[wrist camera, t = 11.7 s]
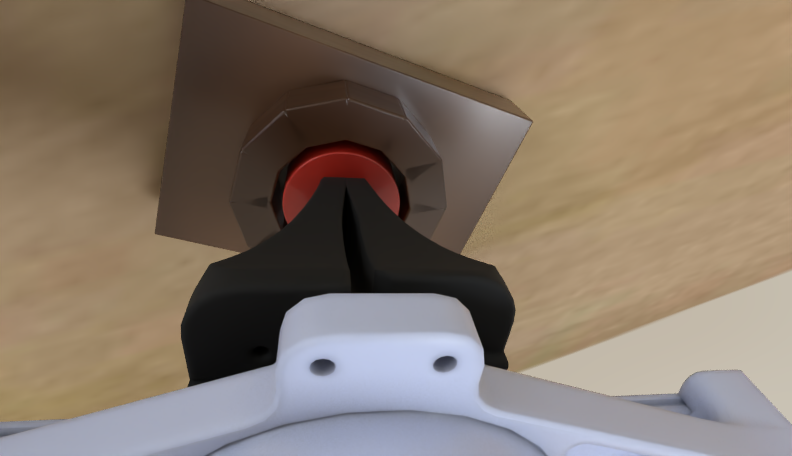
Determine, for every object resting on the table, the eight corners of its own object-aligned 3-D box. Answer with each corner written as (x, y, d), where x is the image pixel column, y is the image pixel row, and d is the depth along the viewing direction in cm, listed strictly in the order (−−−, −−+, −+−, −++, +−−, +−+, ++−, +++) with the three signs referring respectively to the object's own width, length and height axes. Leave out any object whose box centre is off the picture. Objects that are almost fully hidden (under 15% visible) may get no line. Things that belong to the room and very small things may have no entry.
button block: (172, 203, 18) (135, 266, 14) (204, -16, 14) (165, 1, 10) (428, 263, 21) (447, 326, 17) (511, 100, 17) (556, 142, 14)
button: (275, 210, 16) (269, 239, 14) (302, 115, 14) (299, 136, 12) (373, 235, 17) (377, 264, 15) (409, 148, 15) (417, 172, 14)
